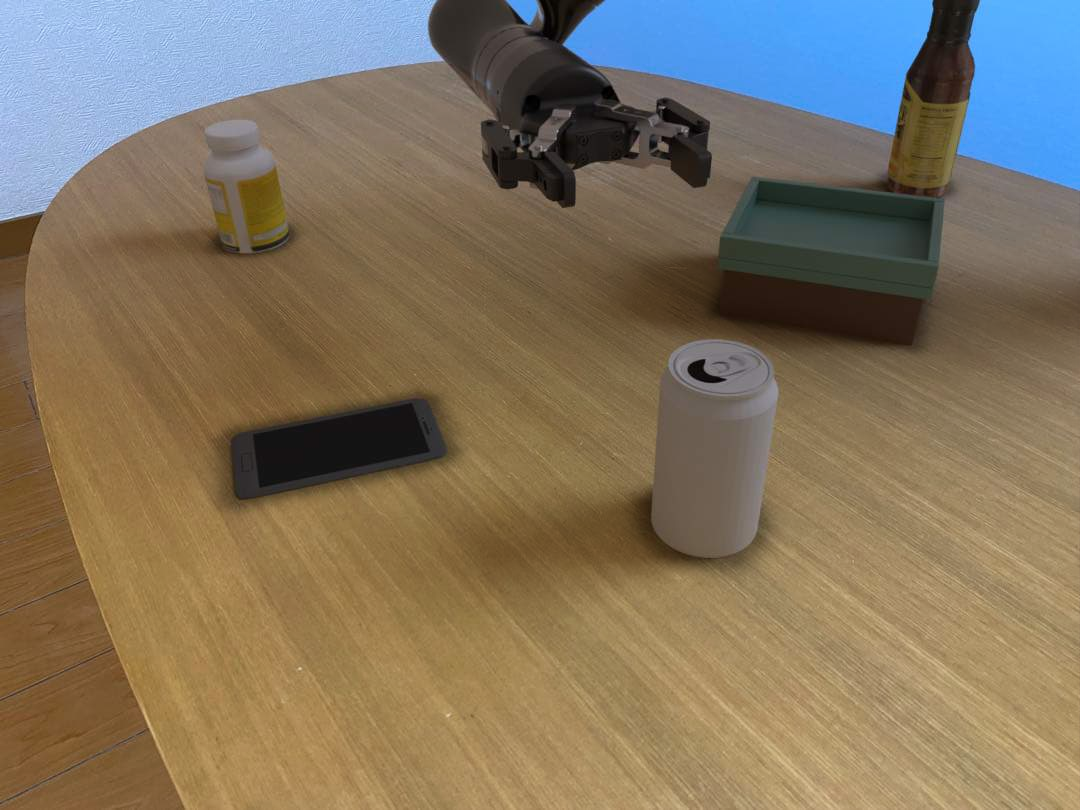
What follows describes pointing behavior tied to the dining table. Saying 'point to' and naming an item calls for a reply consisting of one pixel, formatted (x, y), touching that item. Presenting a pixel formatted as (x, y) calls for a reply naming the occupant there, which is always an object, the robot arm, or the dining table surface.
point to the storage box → (831, 258)
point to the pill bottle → (244, 188)
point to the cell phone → (334, 448)
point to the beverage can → (712, 446)
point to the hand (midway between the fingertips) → (638, 182)
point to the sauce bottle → (934, 103)
